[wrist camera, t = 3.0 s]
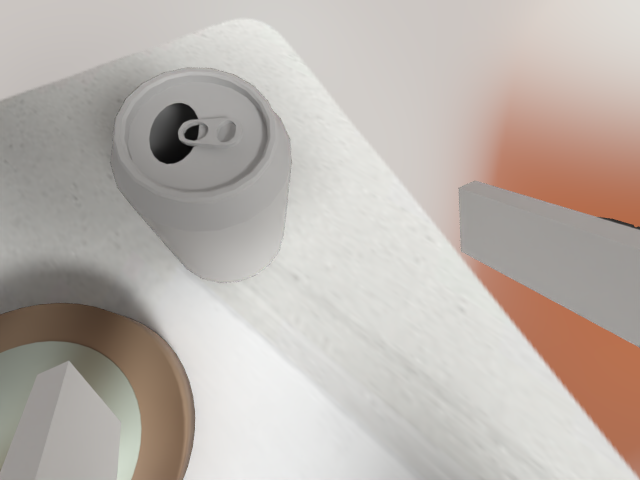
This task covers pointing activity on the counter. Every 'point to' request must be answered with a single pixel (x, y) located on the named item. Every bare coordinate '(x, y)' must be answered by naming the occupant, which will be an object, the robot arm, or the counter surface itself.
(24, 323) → the pedestal
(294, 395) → the counter surface
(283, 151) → the can
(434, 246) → the counter surface
